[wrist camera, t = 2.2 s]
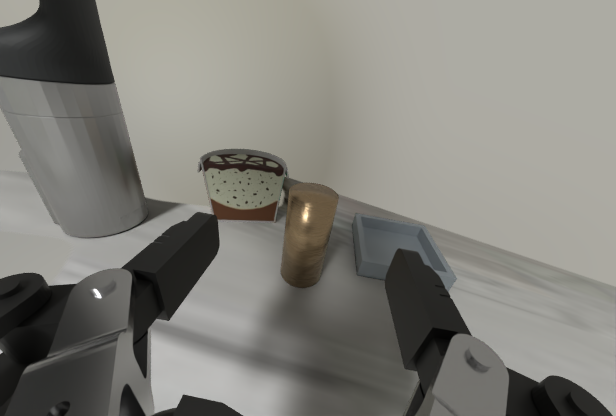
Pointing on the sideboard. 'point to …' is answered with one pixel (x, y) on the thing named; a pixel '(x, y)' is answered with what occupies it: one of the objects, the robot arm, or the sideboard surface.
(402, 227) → the tray
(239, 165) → the food container
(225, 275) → the sideboard surface
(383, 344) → the sideboard surface
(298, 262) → the bronze can
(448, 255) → the sideboard surface
